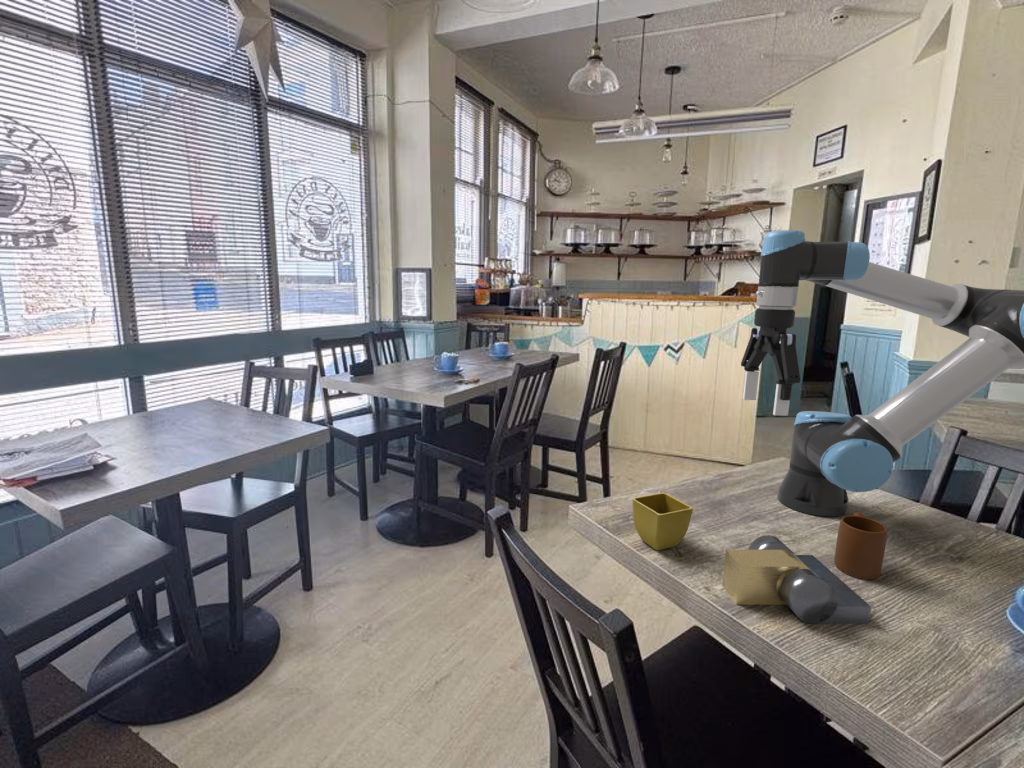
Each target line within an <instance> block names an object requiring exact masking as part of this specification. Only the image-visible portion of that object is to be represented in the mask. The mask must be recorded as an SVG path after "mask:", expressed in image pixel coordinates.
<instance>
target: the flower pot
mask: <svg viewBox="0 0 1024 768" xmlns="http://www.w3.org/2000/svg"><path fill="white" fill-rule="evenodd" d="M631 500H632V514H633V515H632V516H633V517H632V518H633V523H634V527H635V529H636V532H637V533H638V536H639V538H640V539H641V541H643V542H644V543H645V544H647V545H648V546H650V547H651V548H653V549H654V550H656V551H661V550H665V549H666V550H667V549H670V548H674V547H676V546H678V545H679V543H681V542H682V540H683V539H684V538H685V536H686V534H687V532H688V529H689V526H690V523H691V519H692V515H693V511H694V510H693V509H694V507H692V506H690V505H689V504H686V503H685V502H683V501H681V500H679V499H677V498H676V497H673V496H671V495H670V494H668V493H666V492H660V493H659V492H658V493H653V494H648V495H641V496H636V497H633V498H631Z"/></svg>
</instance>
